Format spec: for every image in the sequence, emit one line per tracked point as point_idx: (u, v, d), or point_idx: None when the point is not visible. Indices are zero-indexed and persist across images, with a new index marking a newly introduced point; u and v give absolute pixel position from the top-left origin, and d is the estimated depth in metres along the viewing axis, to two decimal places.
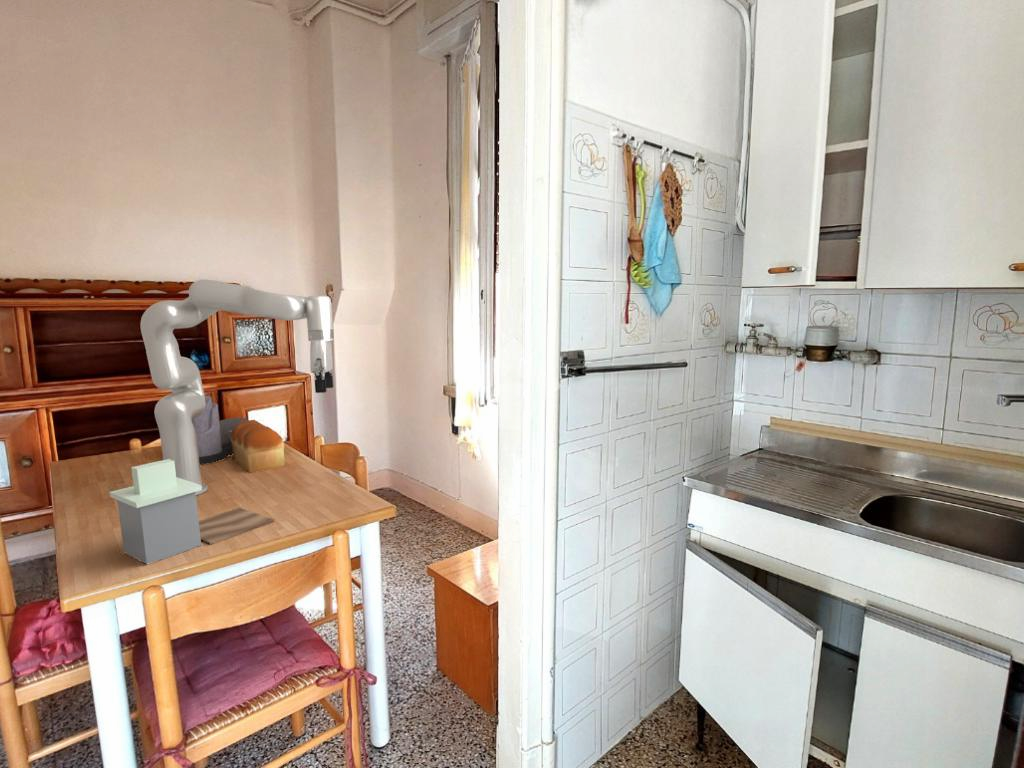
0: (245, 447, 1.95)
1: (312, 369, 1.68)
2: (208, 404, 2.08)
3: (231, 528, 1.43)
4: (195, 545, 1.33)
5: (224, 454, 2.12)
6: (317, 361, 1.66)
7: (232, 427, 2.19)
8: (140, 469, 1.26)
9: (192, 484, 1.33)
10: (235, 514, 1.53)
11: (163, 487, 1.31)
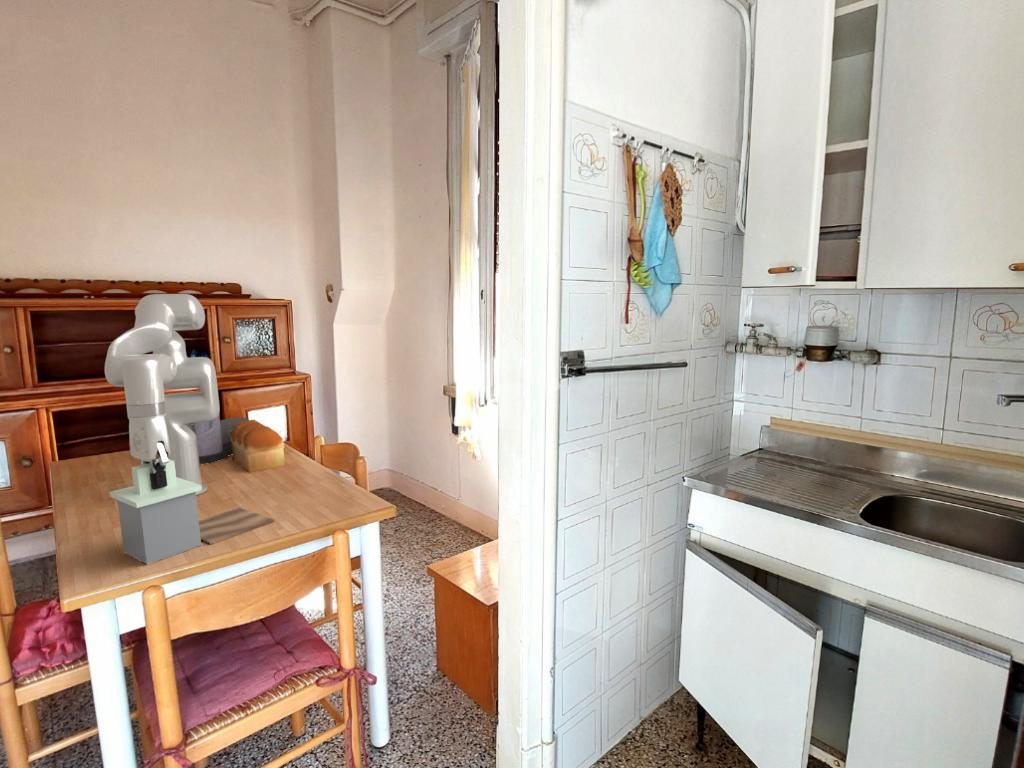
0: (245, 447, 1.95)
1: (152, 456, 1.25)
2: None
3: (231, 528, 1.43)
4: (195, 545, 1.33)
5: (225, 454, 2.13)
6: (161, 450, 1.26)
7: (233, 427, 2.19)
8: (140, 469, 1.26)
9: (192, 484, 1.33)
10: (235, 514, 1.53)
11: (163, 487, 1.31)
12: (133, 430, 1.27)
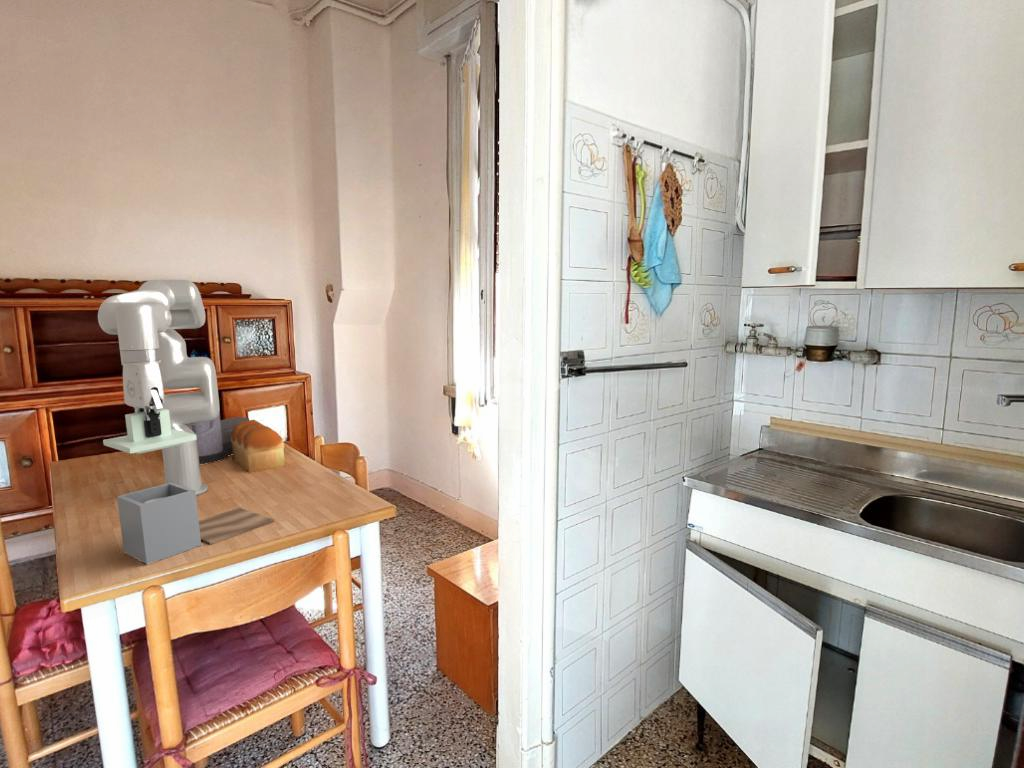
0: (245, 447, 1.95)
1: (146, 403, 1.23)
2: None
3: (231, 528, 1.43)
4: (195, 545, 1.33)
5: (225, 453, 2.13)
6: (155, 397, 1.25)
7: (233, 427, 2.19)
8: (134, 416, 1.25)
9: (187, 434, 1.32)
10: (235, 514, 1.53)
11: (157, 436, 1.29)
12: (127, 377, 1.25)
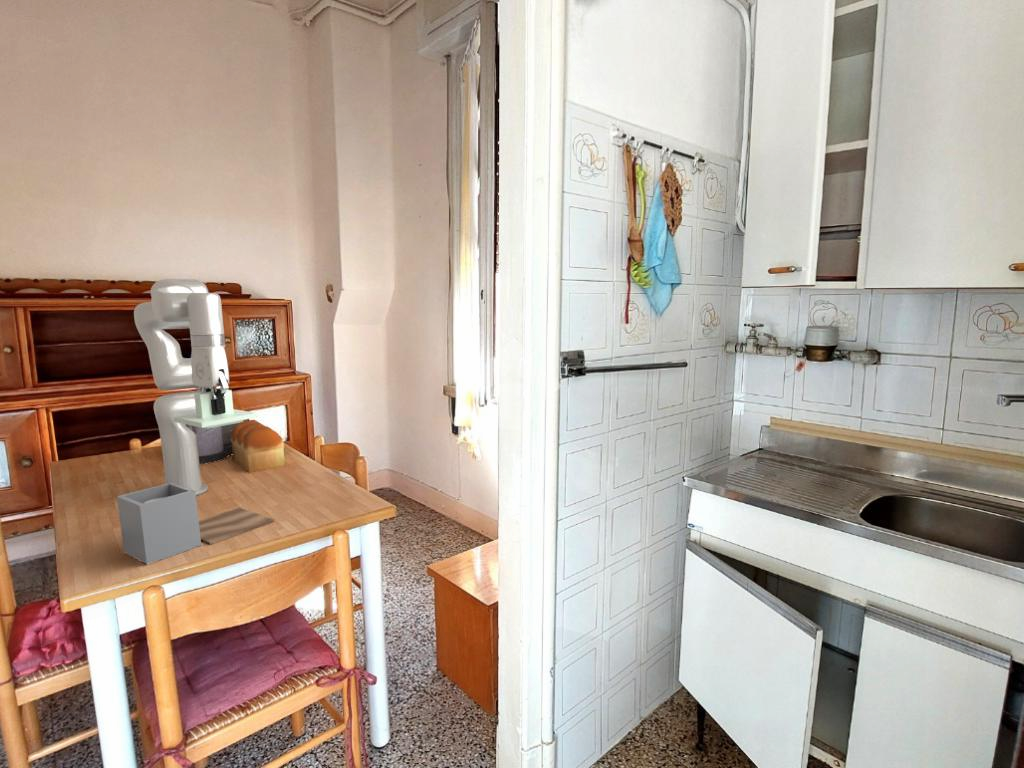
0: (245, 447, 1.95)
1: (214, 383, 1.36)
2: None
3: (231, 528, 1.43)
4: (195, 545, 1.33)
5: (225, 453, 2.14)
6: (222, 377, 1.38)
7: (234, 426, 2.20)
8: (203, 395, 1.38)
9: (248, 412, 1.45)
10: (235, 514, 1.53)
11: (222, 414, 1.42)
12: (196, 359, 1.38)
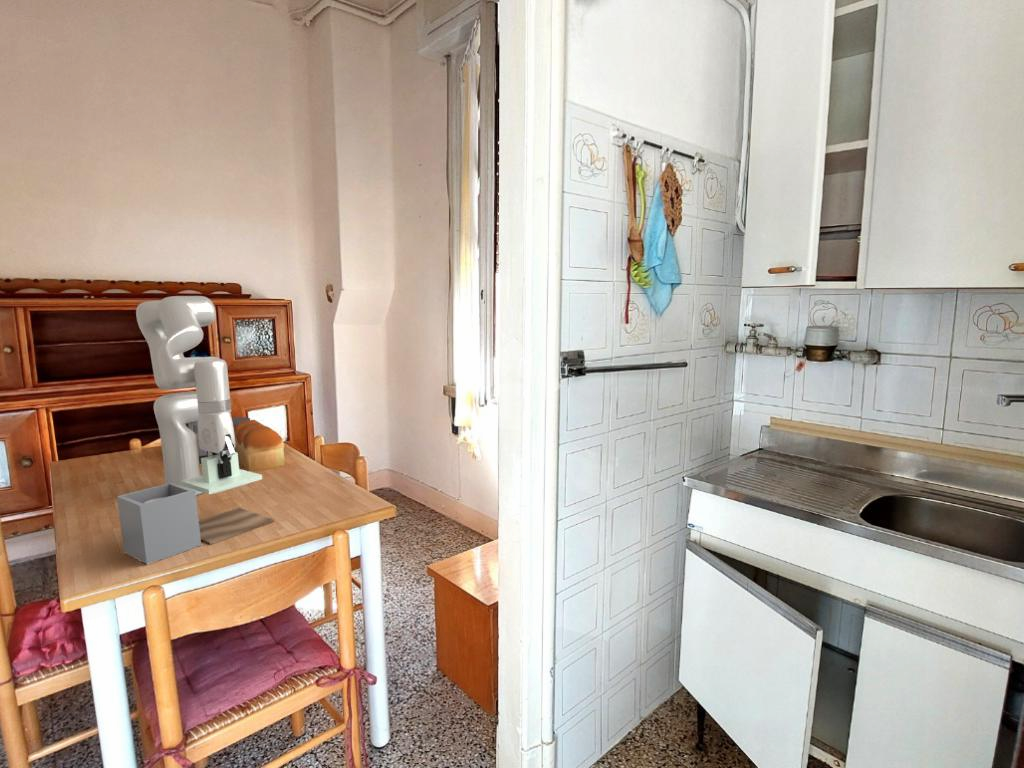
0: (245, 447, 1.95)
1: (220, 448, 1.39)
2: None
3: (231, 528, 1.43)
4: (195, 545, 1.33)
5: None
6: (228, 442, 1.40)
7: (234, 426, 2.20)
8: (209, 460, 1.40)
9: (253, 474, 1.47)
10: (235, 514, 1.53)
11: None
12: (202, 425, 1.41)
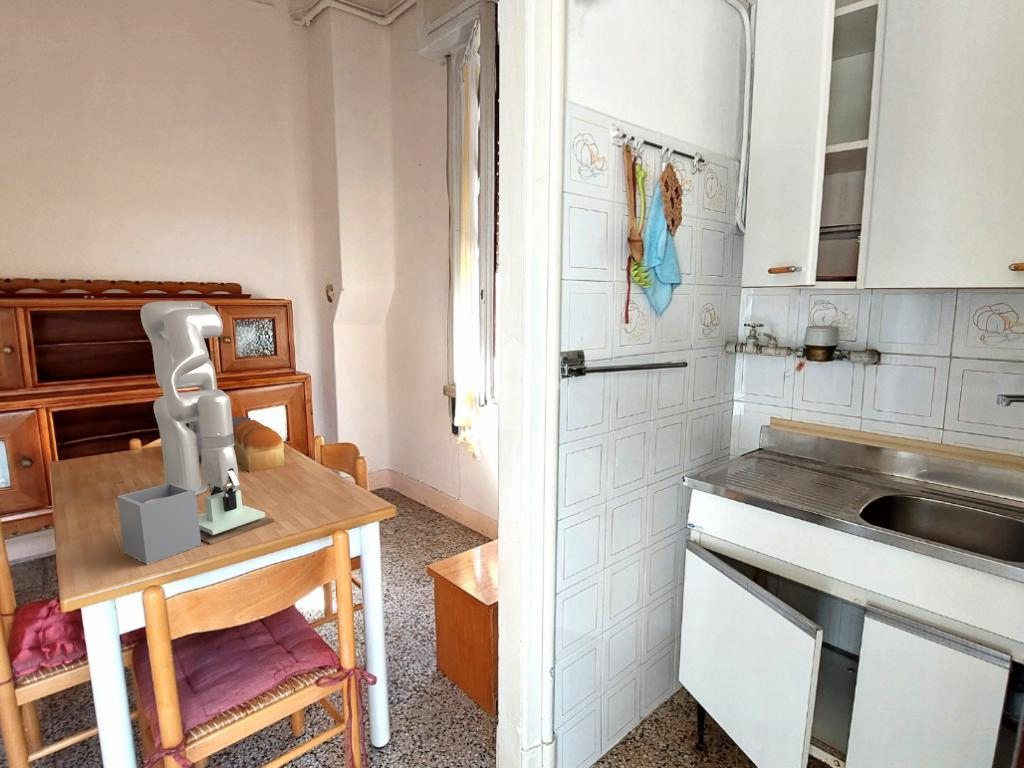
0: (245, 447, 1.95)
1: (224, 483, 1.40)
2: None
3: None
4: (195, 545, 1.33)
5: None
6: (232, 475, 1.41)
7: None
8: (213, 499, 1.42)
9: (256, 511, 1.49)
10: None
11: (231, 514, 1.46)
12: (206, 459, 1.42)
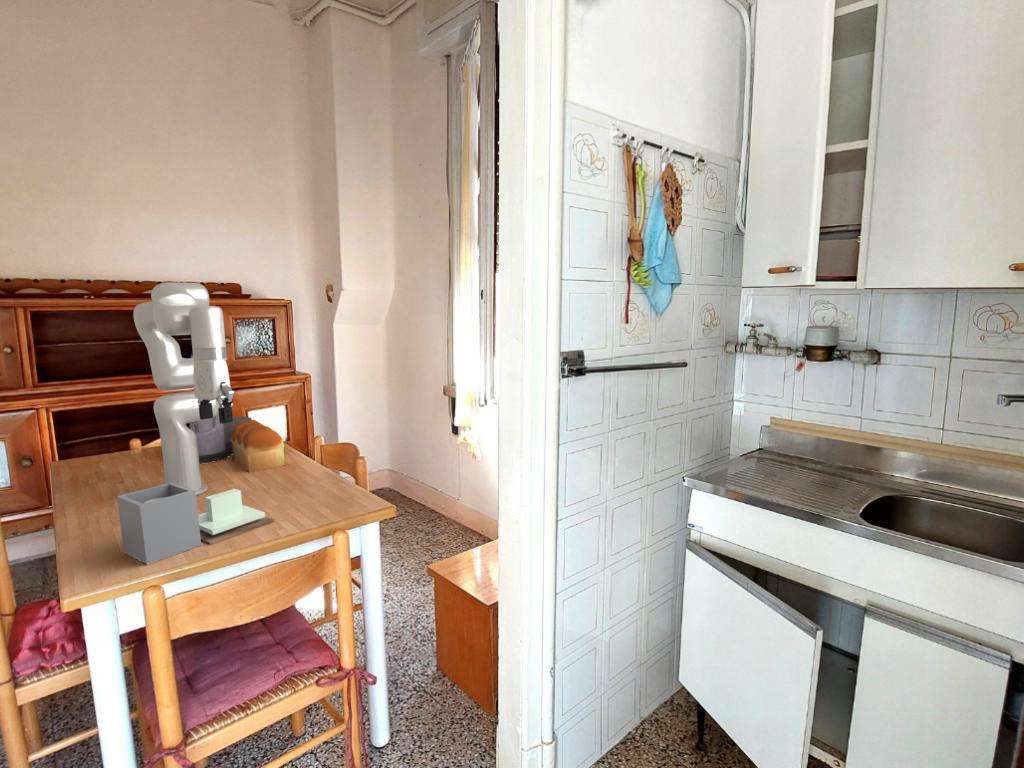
0: (245, 447, 1.95)
1: (215, 396, 1.37)
2: None
3: None
4: (195, 545, 1.33)
5: (227, 453, 2.14)
6: (225, 385, 1.38)
7: None
8: (213, 499, 1.42)
9: (256, 511, 1.49)
10: None
11: (231, 514, 1.46)
12: (198, 372, 1.40)
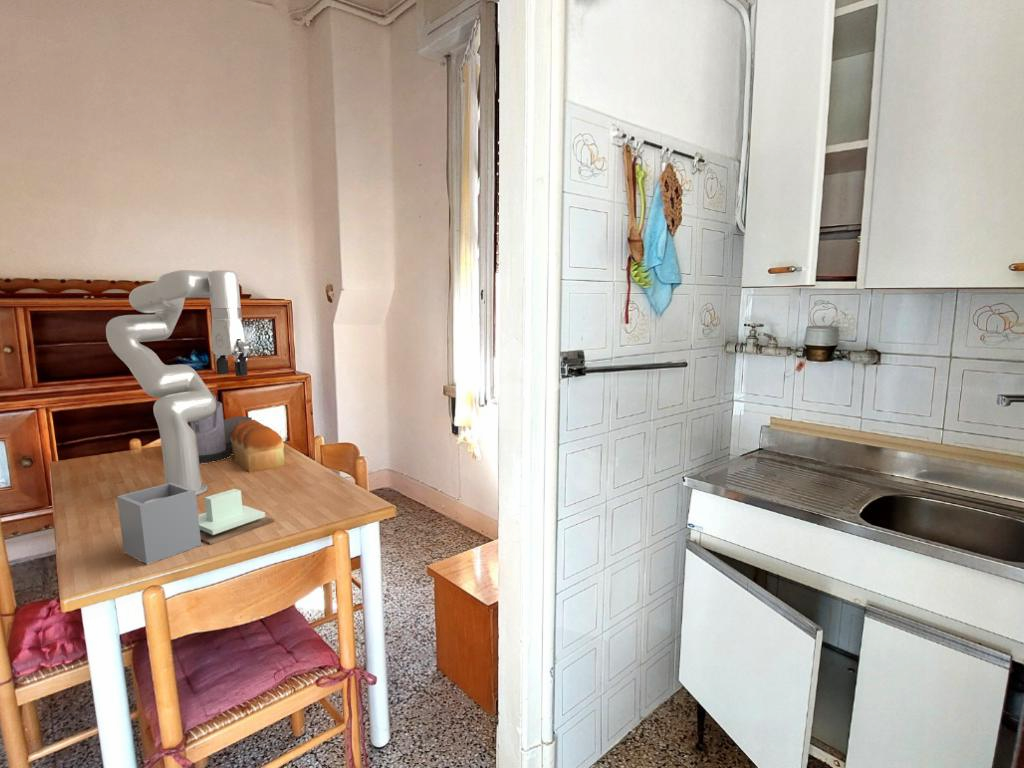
0: (245, 447, 1.95)
1: (232, 351, 1.53)
2: None
3: None
4: (195, 545, 1.33)
5: (228, 453, 2.15)
6: (240, 341, 1.54)
7: None
8: (213, 499, 1.42)
9: (256, 511, 1.49)
10: None
11: (231, 514, 1.46)
12: (216, 330, 1.55)
